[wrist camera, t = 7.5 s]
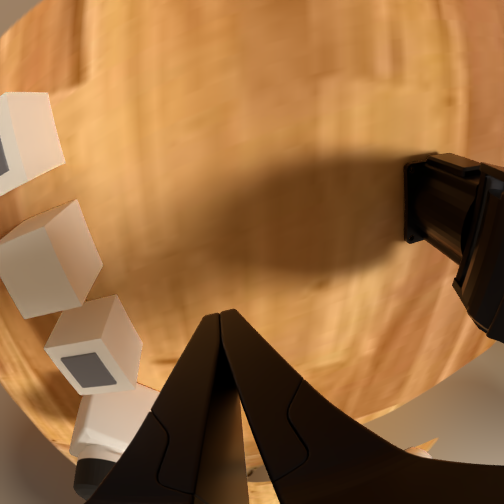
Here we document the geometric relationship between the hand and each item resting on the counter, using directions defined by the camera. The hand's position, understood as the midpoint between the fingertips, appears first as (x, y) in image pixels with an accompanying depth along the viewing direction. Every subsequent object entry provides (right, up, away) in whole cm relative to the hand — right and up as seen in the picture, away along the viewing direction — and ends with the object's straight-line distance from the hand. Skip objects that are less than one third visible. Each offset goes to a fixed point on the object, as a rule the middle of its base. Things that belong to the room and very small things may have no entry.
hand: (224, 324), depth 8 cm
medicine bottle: (-12, -12, +18) cm, 25 cm away
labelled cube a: (-11, -4, +14) cm, 18 cm away
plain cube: (-12, +3, +10) cm, 16 cm away
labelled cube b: (-14, +9, +7) cm, 18 cm away
